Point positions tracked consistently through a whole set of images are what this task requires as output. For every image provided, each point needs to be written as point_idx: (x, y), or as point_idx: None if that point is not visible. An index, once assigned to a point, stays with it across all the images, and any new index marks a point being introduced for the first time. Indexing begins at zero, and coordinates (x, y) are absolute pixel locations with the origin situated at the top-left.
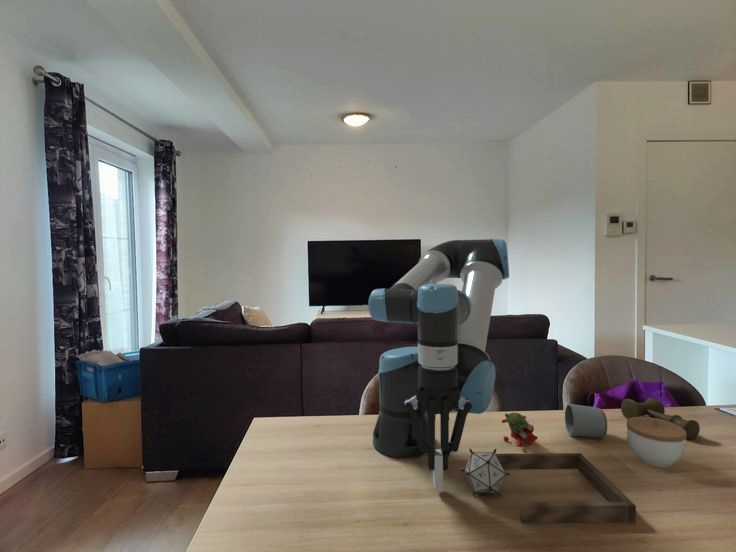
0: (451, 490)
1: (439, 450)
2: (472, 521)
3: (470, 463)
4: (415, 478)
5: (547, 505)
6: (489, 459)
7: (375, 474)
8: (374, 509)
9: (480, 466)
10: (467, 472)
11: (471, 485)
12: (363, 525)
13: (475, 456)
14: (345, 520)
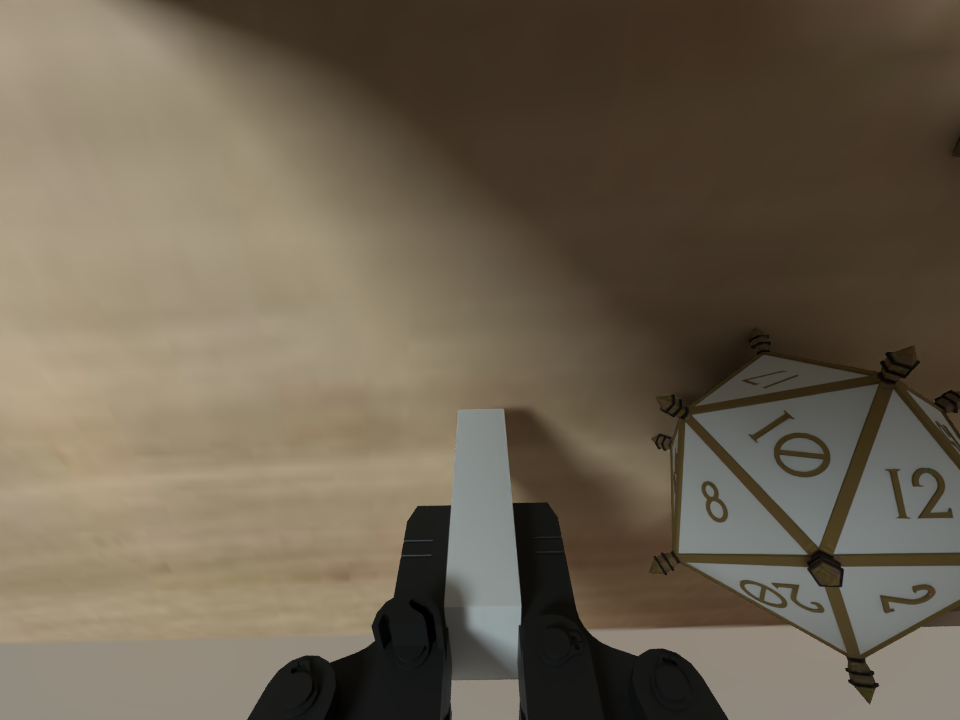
0: (558, 396)
1: (505, 619)
2: (588, 559)
3: (733, 562)
4: (354, 290)
5: (925, 625)
6: (895, 640)
7: (71, 251)
8: (199, 519)
9: (779, 616)
10: (676, 530)
11: (673, 440)
12: (192, 582)
13: (815, 588)
14: (114, 567)
